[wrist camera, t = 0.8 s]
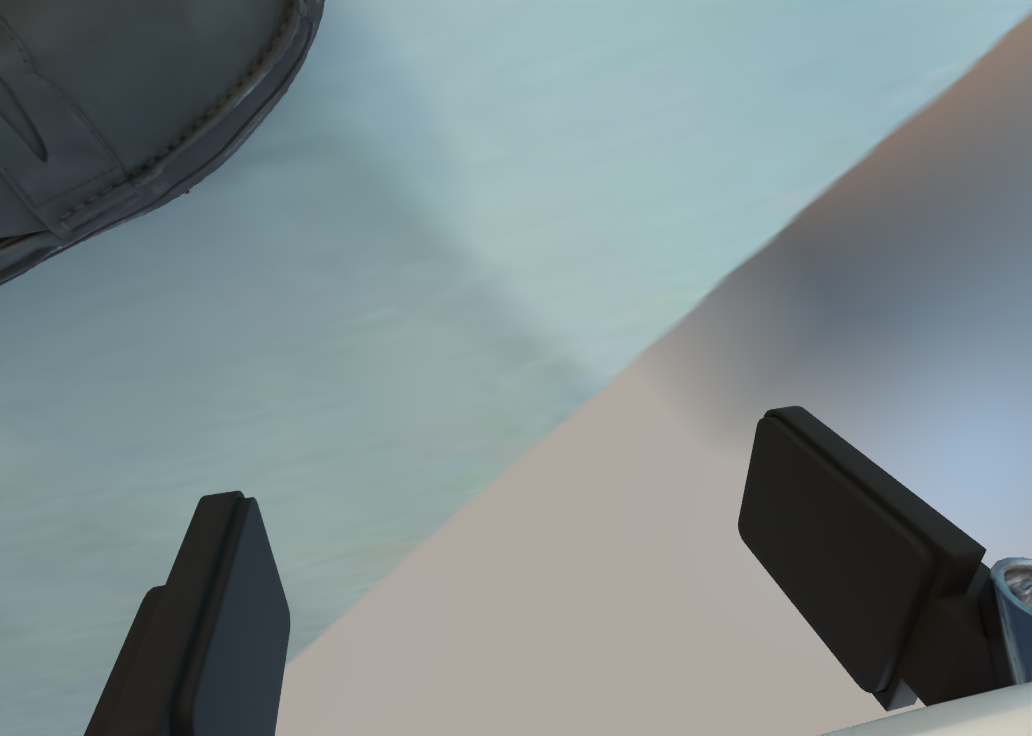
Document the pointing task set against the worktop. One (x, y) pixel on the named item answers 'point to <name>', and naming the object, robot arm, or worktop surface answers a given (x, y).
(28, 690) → the worktop surface
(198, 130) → the loafer
